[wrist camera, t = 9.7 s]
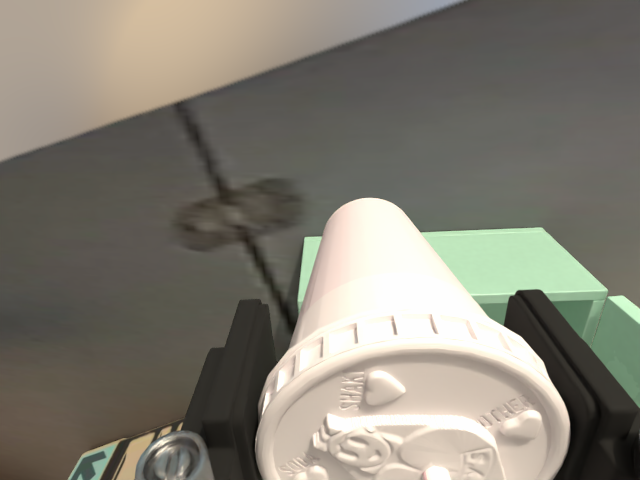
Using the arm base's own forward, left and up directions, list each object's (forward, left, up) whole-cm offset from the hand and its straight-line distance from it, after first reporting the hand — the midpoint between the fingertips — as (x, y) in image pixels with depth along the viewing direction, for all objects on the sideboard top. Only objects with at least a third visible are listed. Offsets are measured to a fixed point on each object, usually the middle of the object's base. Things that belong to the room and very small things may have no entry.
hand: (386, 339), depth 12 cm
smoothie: (0, 0, -6) cm, 6 cm away
